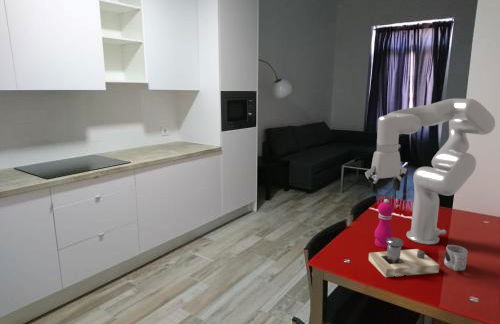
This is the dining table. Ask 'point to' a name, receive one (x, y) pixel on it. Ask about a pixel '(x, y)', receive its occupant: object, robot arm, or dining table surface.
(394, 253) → the silver domed cylinder
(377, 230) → the pepper mill
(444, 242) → the dining table surface
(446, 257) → the mug
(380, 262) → the jig
